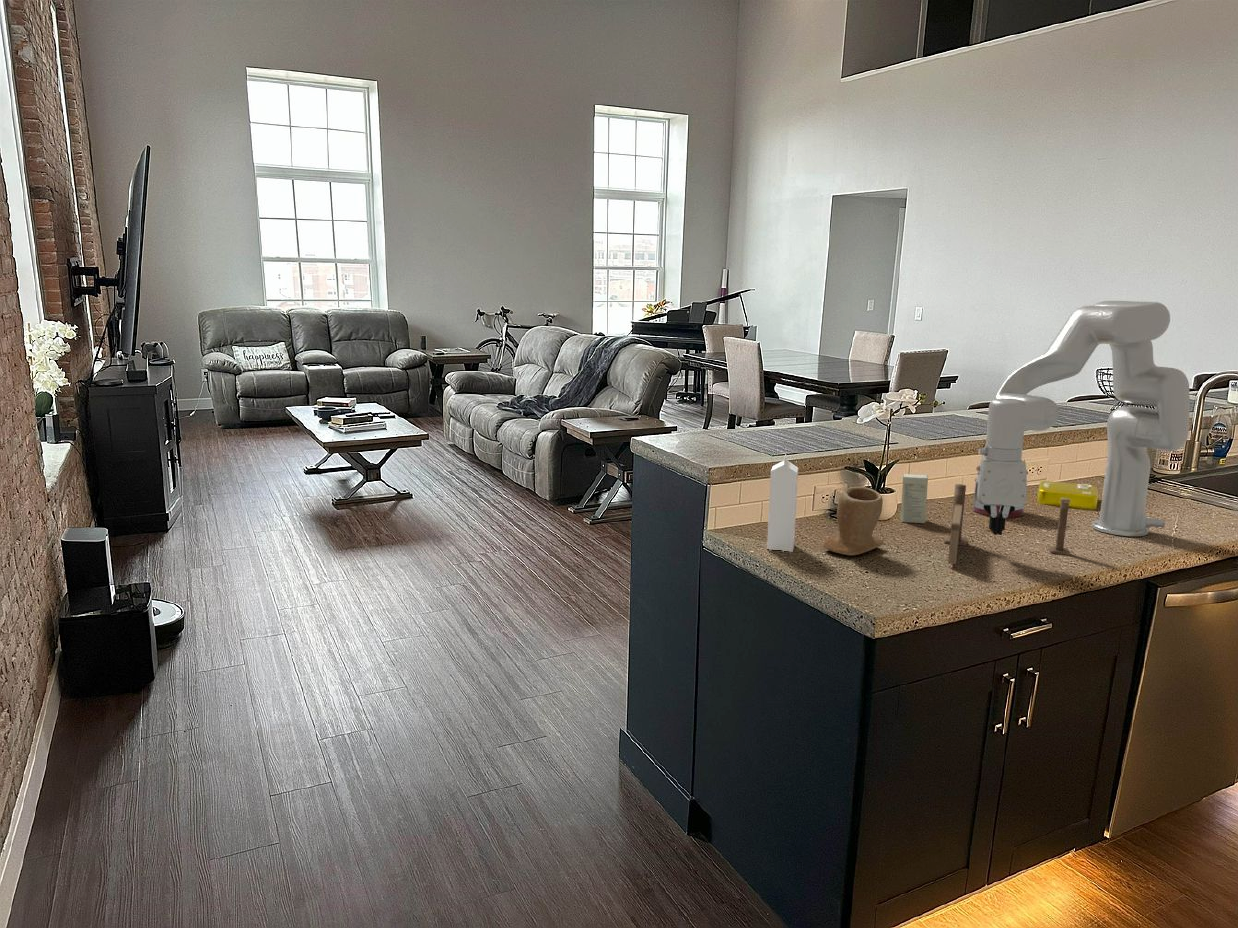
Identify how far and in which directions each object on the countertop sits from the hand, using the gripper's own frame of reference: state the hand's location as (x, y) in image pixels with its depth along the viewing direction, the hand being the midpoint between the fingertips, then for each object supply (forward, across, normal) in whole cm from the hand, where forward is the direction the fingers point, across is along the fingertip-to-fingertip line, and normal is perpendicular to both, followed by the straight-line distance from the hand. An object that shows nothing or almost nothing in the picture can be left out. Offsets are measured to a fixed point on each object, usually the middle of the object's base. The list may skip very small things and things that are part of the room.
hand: (996, 532), depth 193 cm
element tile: (+8, +35, +59) cm, 69 cm away
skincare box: (+6, -13, +28) cm, 32 cm away
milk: (+5, -48, -2) cm, 49 cm away
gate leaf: (+4, -9, -1) cm, 10 cm away
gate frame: (+6, +5, +9) cm, 11 cm away
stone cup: (+5, -31, -2) cm, 31 cm away
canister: (+7, +11, +42) cm, 44 cm away
